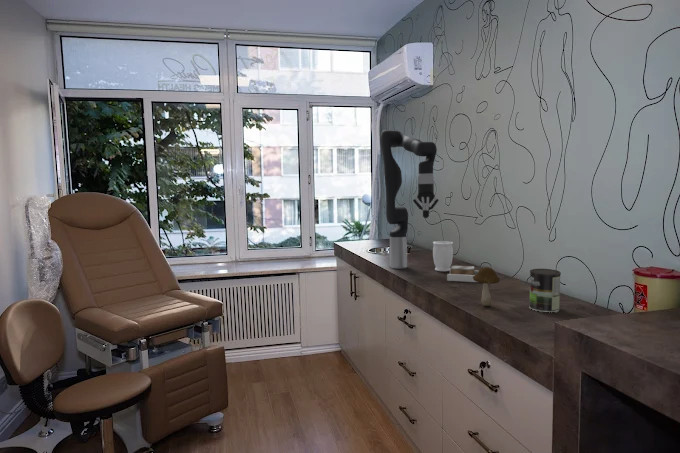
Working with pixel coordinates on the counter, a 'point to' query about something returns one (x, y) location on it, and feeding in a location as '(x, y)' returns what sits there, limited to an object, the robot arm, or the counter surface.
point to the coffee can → (544, 290)
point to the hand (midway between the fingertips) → (426, 218)
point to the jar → (442, 255)
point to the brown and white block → (463, 270)
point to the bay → (461, 277)
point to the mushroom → (486, 283)
